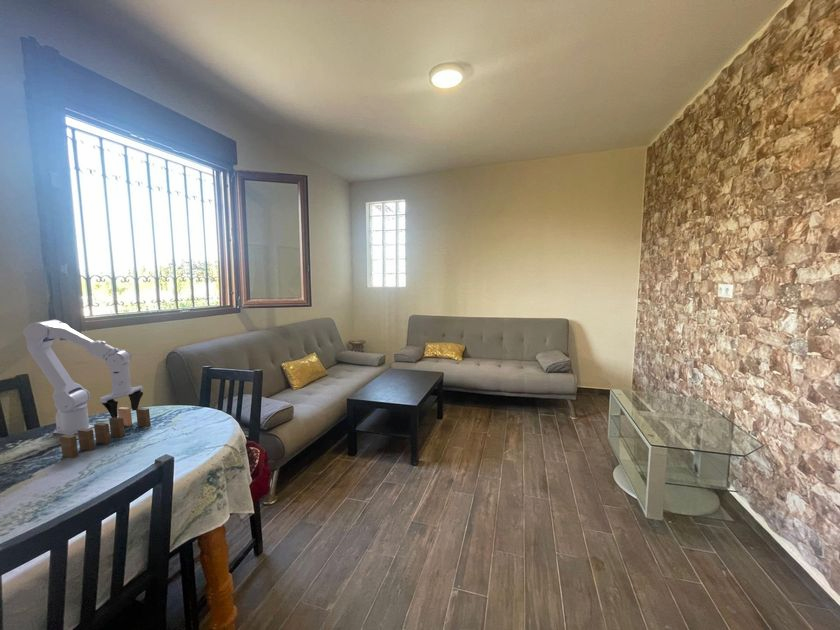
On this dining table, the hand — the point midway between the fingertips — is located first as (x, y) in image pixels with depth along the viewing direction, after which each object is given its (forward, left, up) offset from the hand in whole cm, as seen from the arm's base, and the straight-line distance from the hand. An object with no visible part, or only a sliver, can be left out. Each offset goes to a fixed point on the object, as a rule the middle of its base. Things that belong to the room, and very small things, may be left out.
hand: (124, 413), depth 136 cm
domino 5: (+8, +1, -5) cm, 9 cm away
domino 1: (+8, -23, -5) cm, 25 cm away
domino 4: (+8, -8, -5) cm, 13 cm away
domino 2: (+8, -18, -5) cm, 20 cm away
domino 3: (+8, -13, -5) cm, 16 cm away
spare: (0, 0, -5) cm, 5 cm away
